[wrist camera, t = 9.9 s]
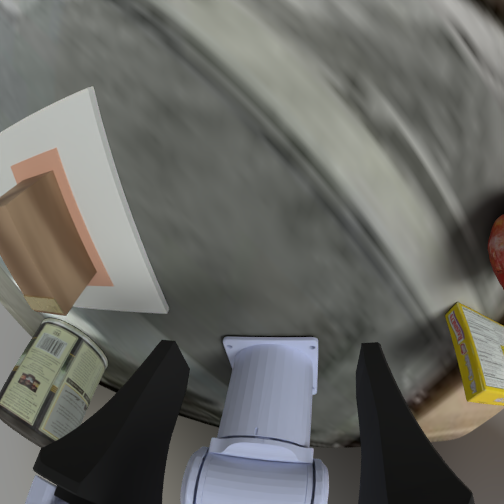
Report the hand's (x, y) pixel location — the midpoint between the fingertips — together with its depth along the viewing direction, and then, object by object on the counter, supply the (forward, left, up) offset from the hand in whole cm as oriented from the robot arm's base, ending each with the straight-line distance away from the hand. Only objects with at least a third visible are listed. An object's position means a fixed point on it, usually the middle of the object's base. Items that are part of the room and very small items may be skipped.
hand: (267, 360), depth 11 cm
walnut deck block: (+2, +17, -9) cm, 19 cm away
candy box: (-12, -20, -10) cm, 25 cm away
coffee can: (-15, +27, -10) cm, 32 cm away
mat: (+2, +17, -9) cm, 20 cm away
